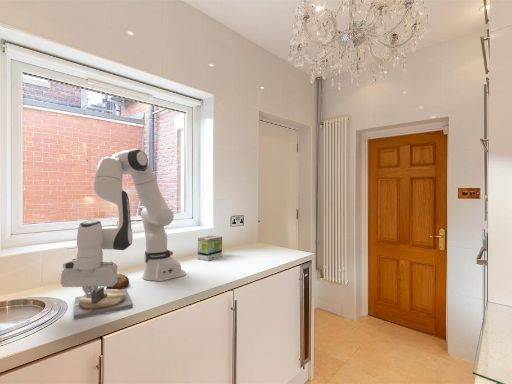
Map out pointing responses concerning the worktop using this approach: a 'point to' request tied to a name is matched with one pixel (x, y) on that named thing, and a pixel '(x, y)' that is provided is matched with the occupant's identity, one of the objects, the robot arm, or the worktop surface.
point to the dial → (102, 298)
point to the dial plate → (84, 312)
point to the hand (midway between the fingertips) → (89, 297)
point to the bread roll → (120, 282)
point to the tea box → (209, 248)
